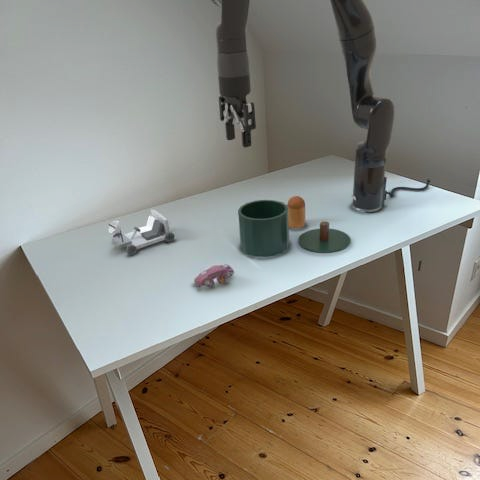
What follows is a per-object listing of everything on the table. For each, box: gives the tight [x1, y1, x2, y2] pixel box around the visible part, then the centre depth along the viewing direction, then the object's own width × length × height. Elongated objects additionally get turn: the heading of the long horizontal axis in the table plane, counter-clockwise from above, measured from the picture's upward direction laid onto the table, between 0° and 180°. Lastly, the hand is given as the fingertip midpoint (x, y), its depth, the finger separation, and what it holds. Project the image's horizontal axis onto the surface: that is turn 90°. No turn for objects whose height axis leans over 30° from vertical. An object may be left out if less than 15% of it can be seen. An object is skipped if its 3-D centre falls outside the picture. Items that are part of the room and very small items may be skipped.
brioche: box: [286, 195, 306, 229], centre depth 147 cm, size 5×5×10 cm
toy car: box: [108, 208, 175, 256], centre depth 145 cm, size 18×10×12 cm
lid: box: [297, 220, 351, 254], centre depth 137 cm, size 15×15×6 cm
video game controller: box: [193, 263, 235, 289], centre depth 123 cm, size 10×5×7 cm, turn 118°
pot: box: [237, 199, 290, 258], centre depth 136 cm, size 14×14×12 cm
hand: (238, 143), depth 124 cm, fingers open, 8 cm apart
